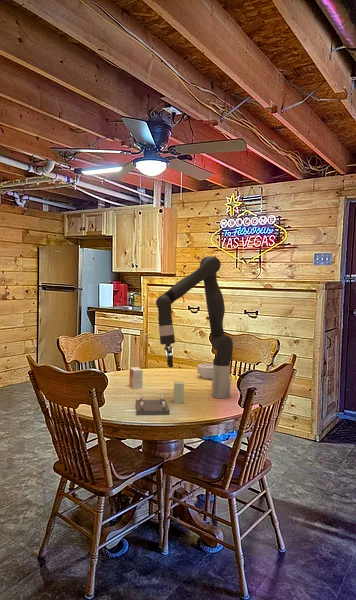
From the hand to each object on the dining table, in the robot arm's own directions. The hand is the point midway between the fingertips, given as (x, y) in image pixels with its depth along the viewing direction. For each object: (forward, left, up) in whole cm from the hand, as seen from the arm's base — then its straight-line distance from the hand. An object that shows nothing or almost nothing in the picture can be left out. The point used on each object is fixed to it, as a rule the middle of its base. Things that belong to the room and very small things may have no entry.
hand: (170, 366), depth 212 cm
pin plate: (+10, +12, -18) cm, 24 cm away
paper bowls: (-30, -51, -18) cm, 62 cm away
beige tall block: (-4, +1, -18) cm, 19 cm away
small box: (+17, -29, -18) cm, 38 cm away
